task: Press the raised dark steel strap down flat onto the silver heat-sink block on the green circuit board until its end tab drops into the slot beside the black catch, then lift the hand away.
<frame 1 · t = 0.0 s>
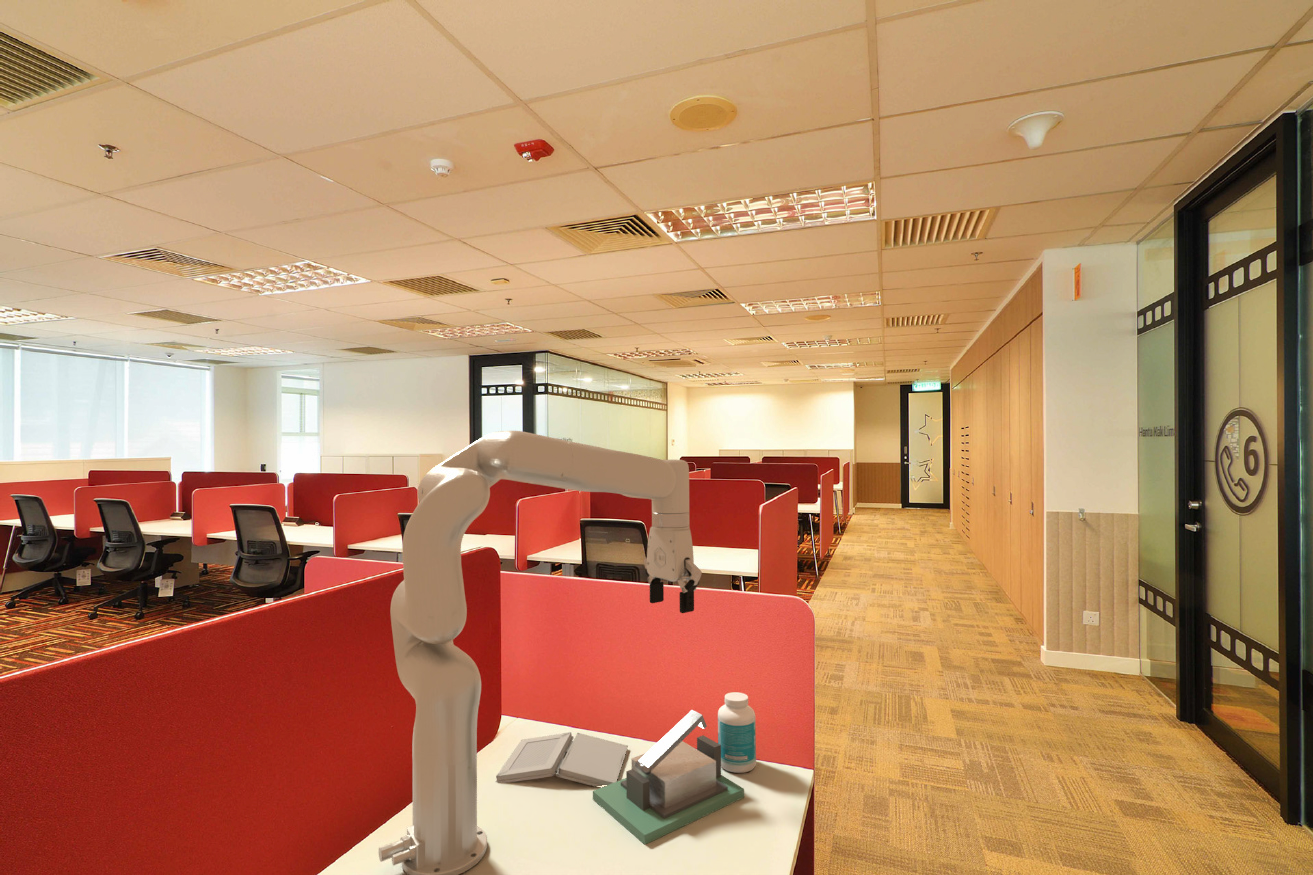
hand: (671, 606, 124), 31 cm above the table, fingers open, 9 cm apart
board: (668, 798, 111), on the table
strap: (671, 744, 112), point 9 cm above the table, hinge at 25.0°
gadget: (565, 768, 124), on the table
pill bottle: (737, 765, 123), on the table
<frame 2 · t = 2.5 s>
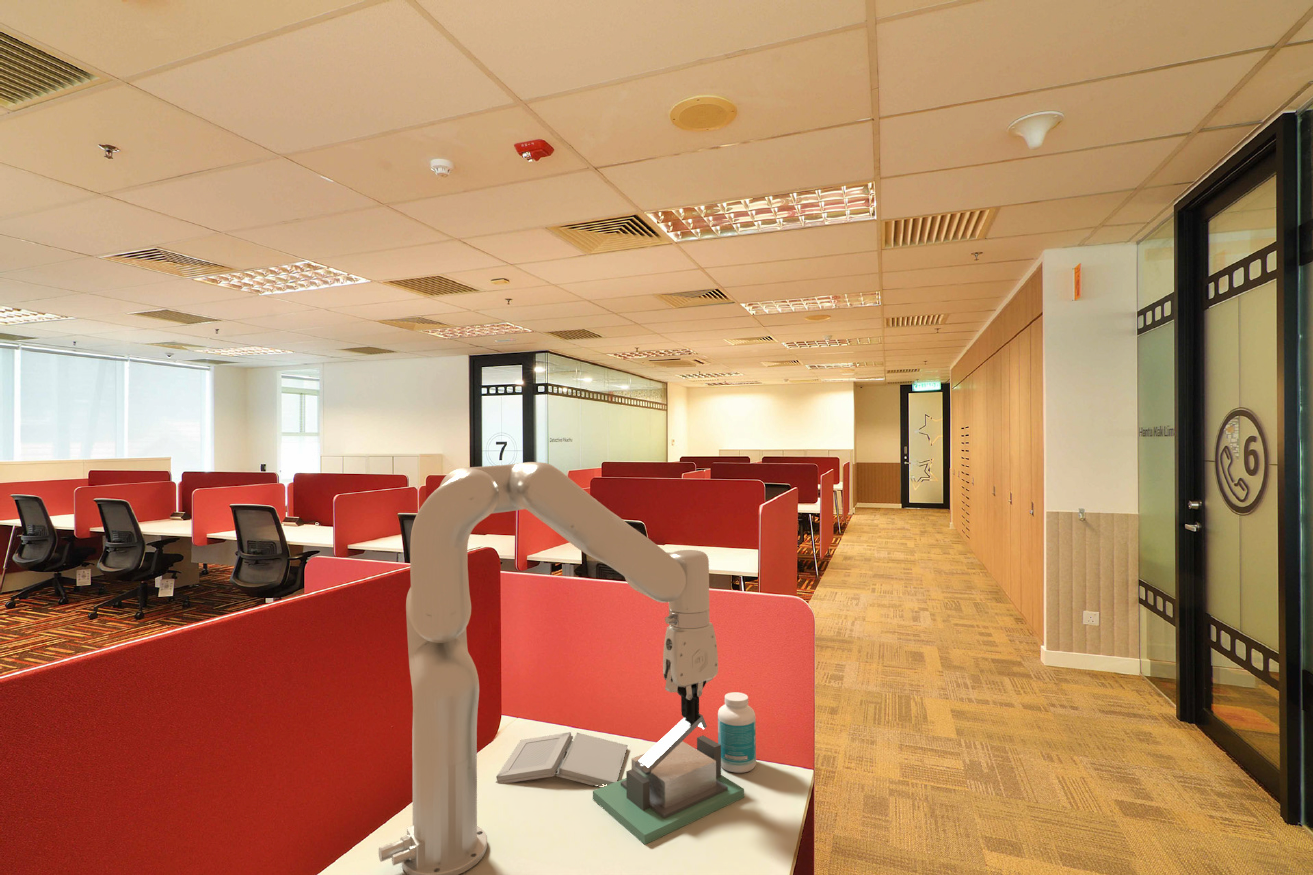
hand: (690, 717, 115), 13 cm above the table, fingers closed
strap: (671, 744, 112), point 9 cm above the table, hinge at 24.7°, touching gripper
everything else where it was.
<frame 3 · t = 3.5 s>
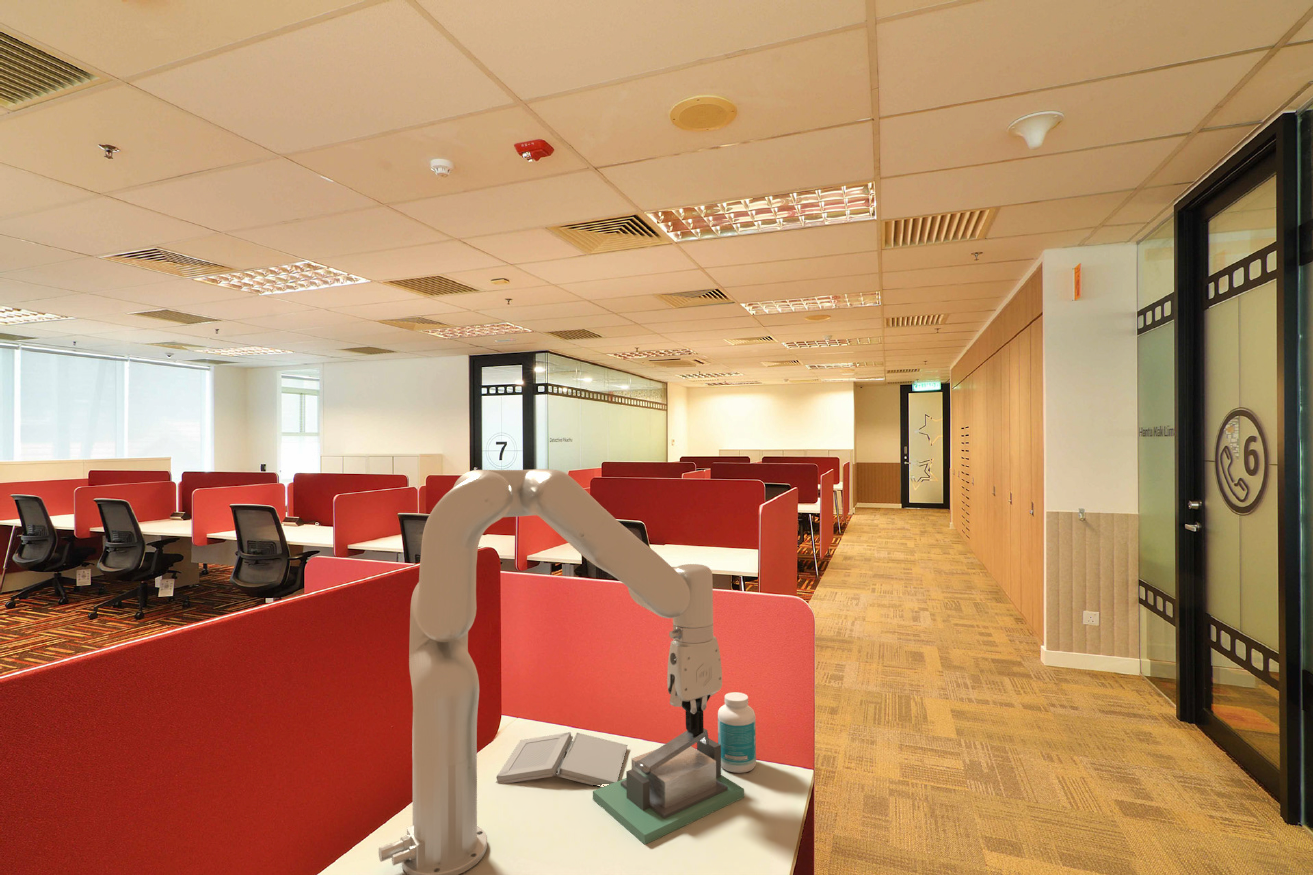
hand: (694, 731, 115), 10 cm above the table, fingers closed
strap: (673, 752, 112), point 8 cm above the table, hinge at 11.6°, touching gripper
everything else where it was.
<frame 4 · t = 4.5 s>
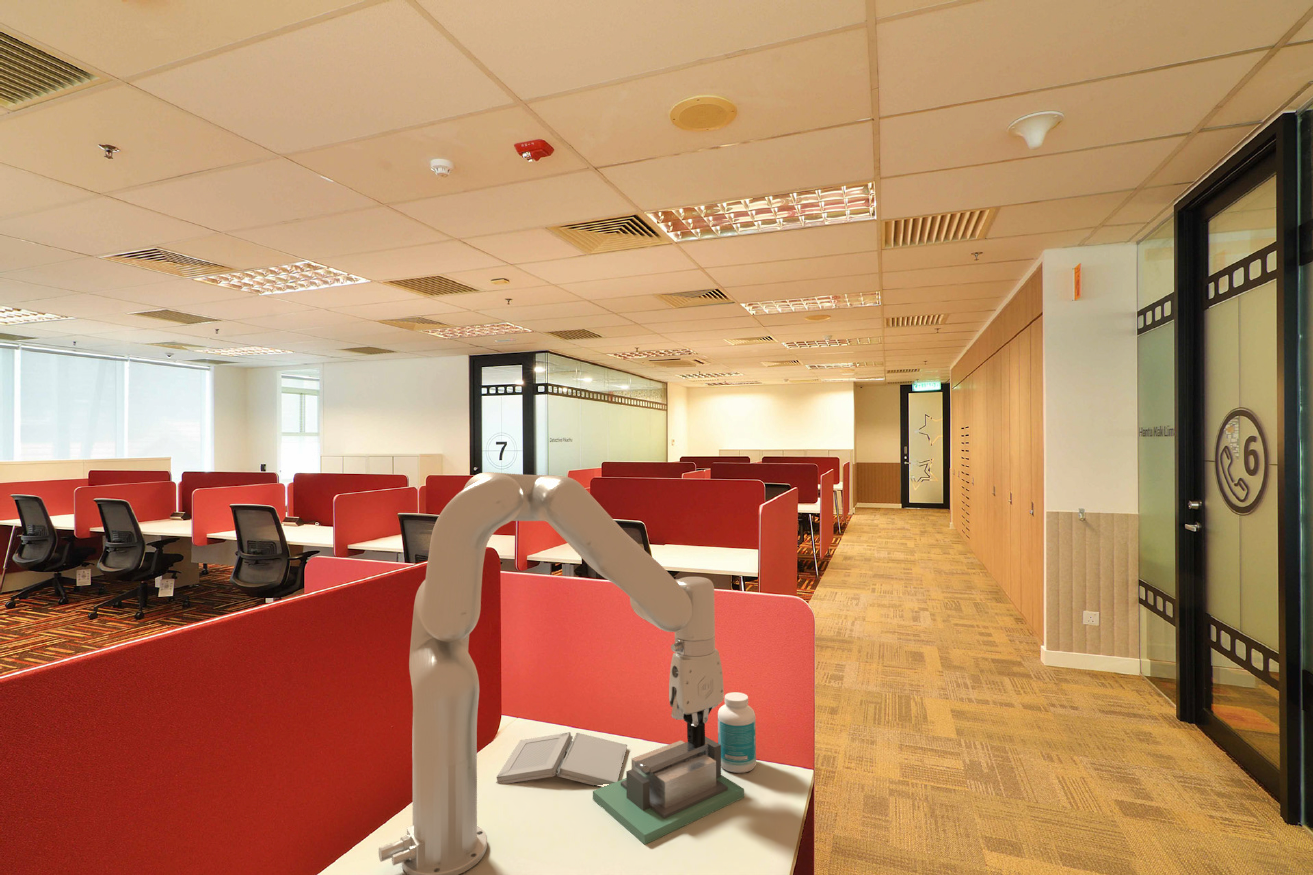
hand: (696, 743, 115), 8 cm above the table, fingers closed
strap: (673, 759, 112), point 7 cm above the table, hinge at 0.9°, touching gripper
everything else where it was.
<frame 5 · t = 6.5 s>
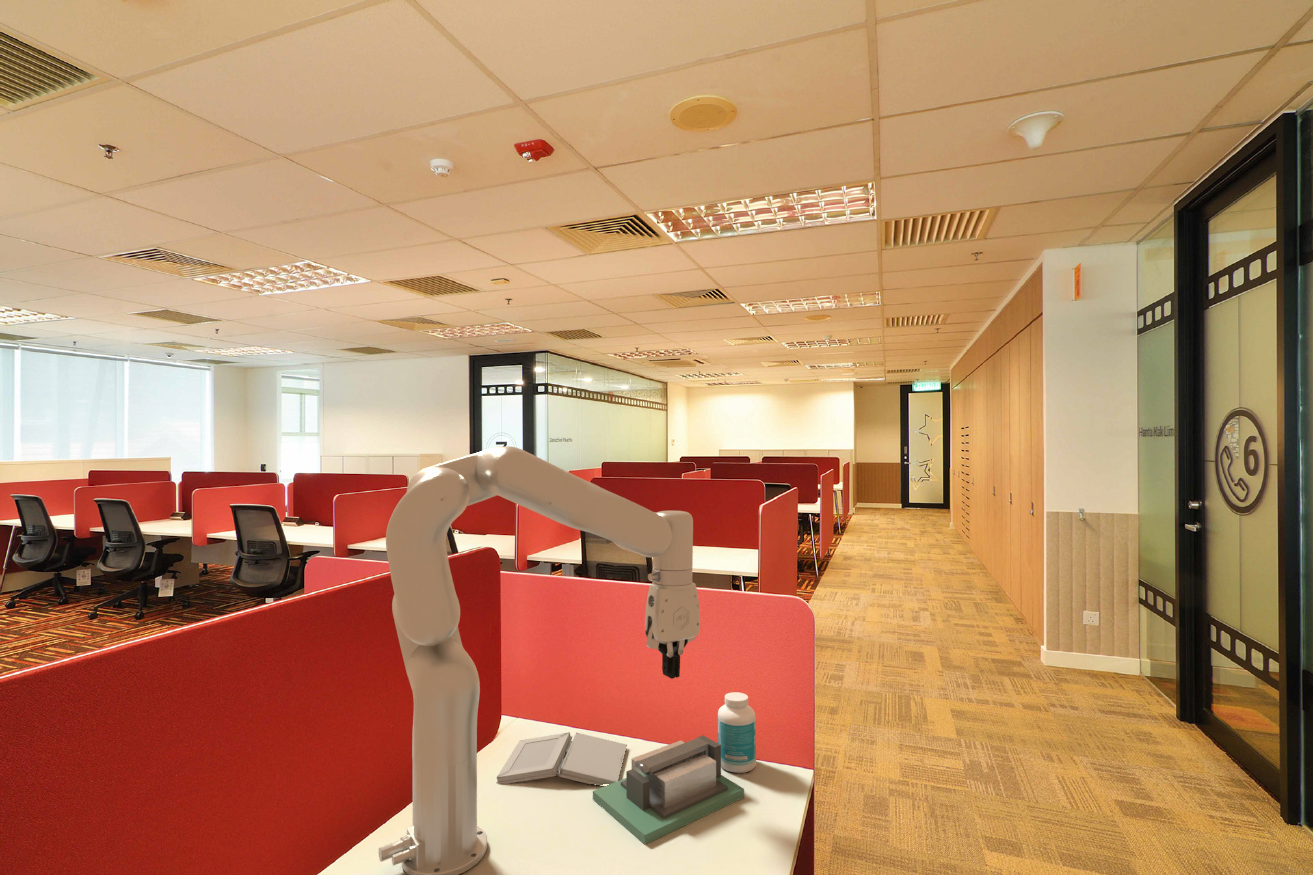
hand: (671, 675, 116), 20 cm above the table, fingers closed
strap: (673, 759, 112), point 7 cm above the table, hinge at 0.8°
everything else where it was.
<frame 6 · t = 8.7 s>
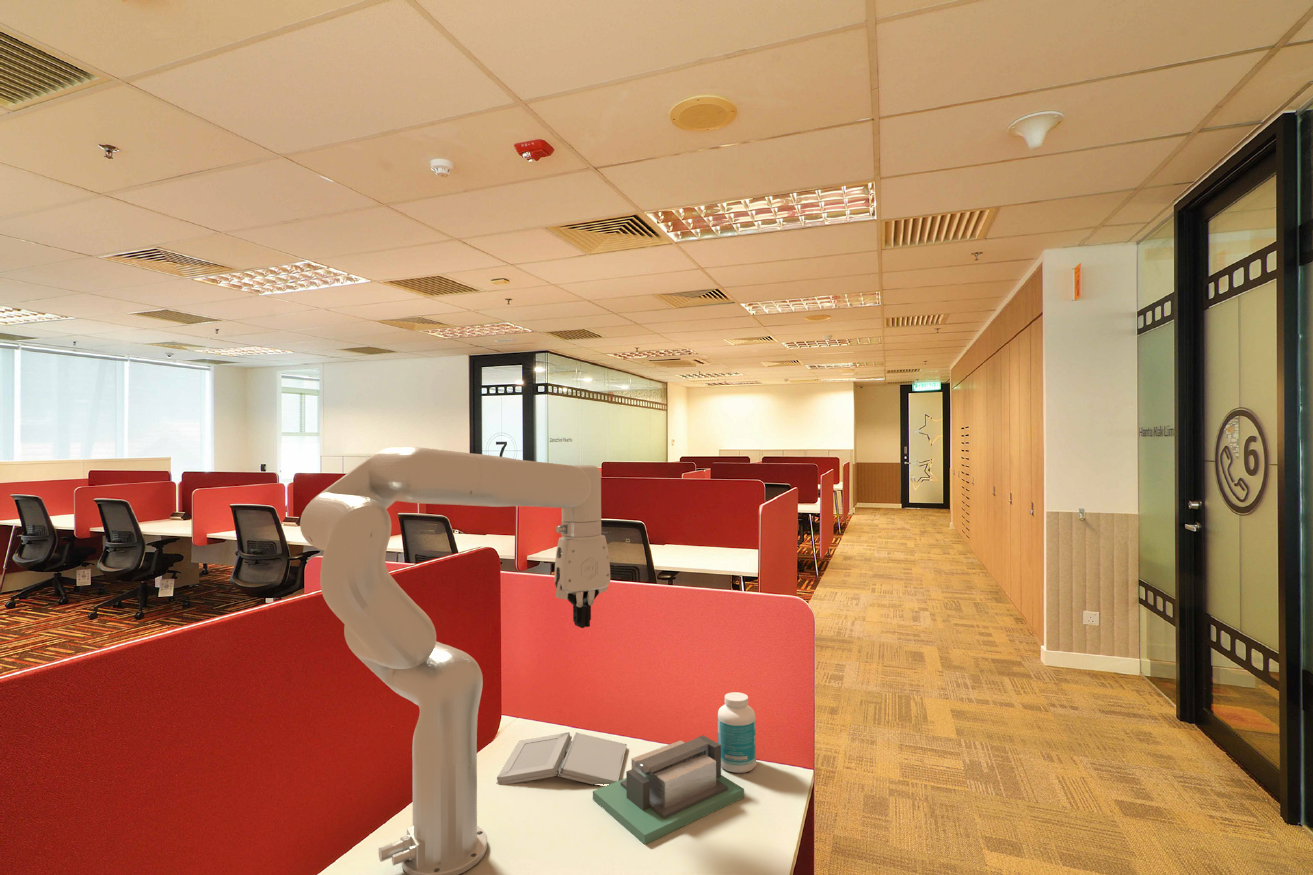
hand: (582, 625, 118), 29 cm above the table, fingers closed
nothing on the table moved.
at the end: strap at +1° (first picture: +25°); the gripper is holding nothing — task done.
